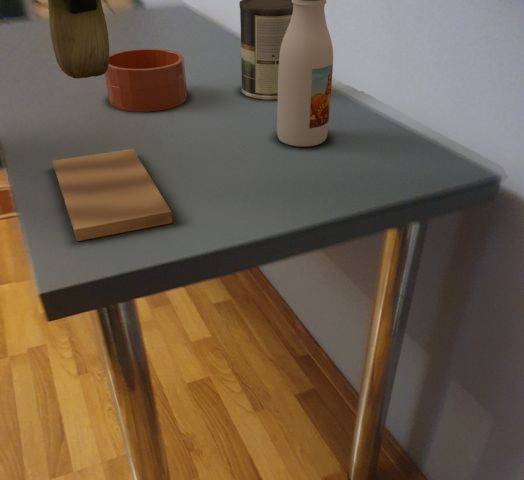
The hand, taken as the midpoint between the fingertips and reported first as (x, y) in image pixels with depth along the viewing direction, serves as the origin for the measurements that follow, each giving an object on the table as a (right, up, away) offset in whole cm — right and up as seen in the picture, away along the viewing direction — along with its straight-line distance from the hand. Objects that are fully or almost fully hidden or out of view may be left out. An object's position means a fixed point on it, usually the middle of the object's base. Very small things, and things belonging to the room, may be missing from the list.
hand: (73, 7), depth 56 cm
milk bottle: (+25, -3, +28) cm, 38 cm away
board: (0, -15, +13) cm, 20 cm away
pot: (-1, +10, +41) cm, 43 cm away
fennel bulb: (0, -5, +4) cm, 7 cm away
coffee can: (+21, +13, +45) cm, 51 cm away
